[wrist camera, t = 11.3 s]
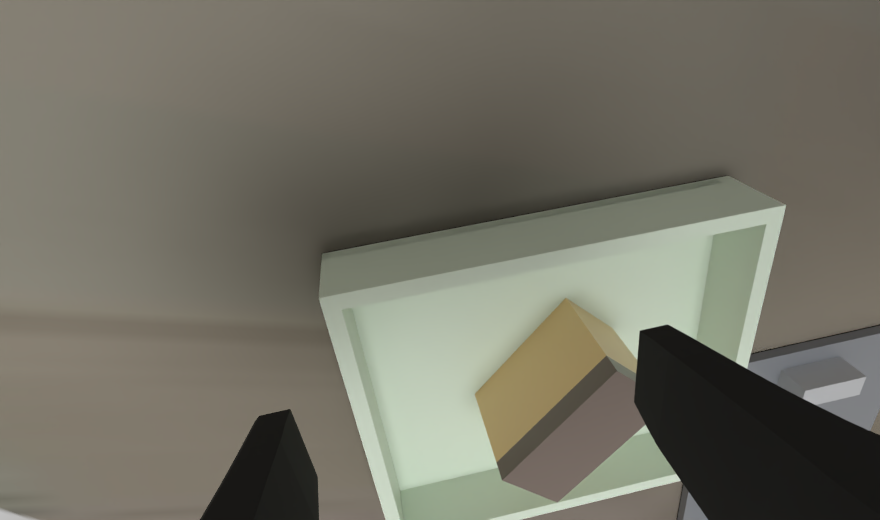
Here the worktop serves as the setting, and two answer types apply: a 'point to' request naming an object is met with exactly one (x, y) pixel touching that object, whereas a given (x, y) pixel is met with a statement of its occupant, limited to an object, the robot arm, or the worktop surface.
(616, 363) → the block
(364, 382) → the parts tray
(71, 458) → the worktop surface
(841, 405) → the fuse board
